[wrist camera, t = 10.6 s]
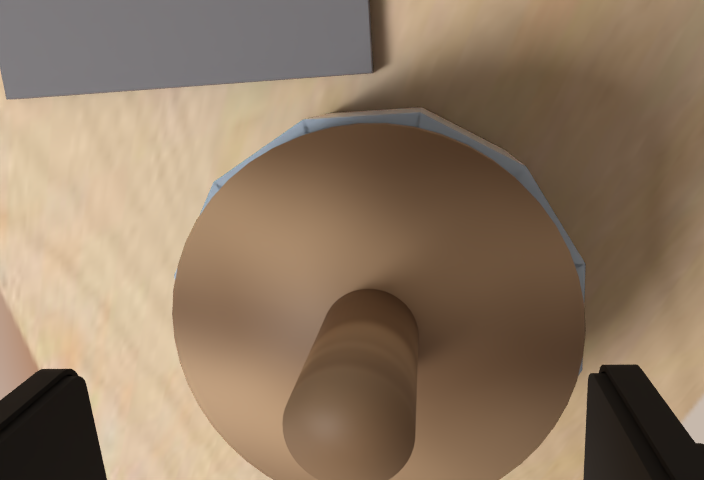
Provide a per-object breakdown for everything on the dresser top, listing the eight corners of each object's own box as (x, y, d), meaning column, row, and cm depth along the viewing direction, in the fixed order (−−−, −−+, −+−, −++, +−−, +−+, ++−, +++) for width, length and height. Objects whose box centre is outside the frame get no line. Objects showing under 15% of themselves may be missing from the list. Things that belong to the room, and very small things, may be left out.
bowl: (212, 120, 22) (153, 129, 17) (551, 98, 20) (590, 101, 16) (248, 414, 25) (205, 491, 20) (547, 416, 23) (578, 500, 19)
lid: (158, 137, 17) (25, 160, 12) (579, 107, 16) (669, 117, 10) (212, 488, 20) (126, 646, 14) (573, 493, 19) (639, 674, 13)
